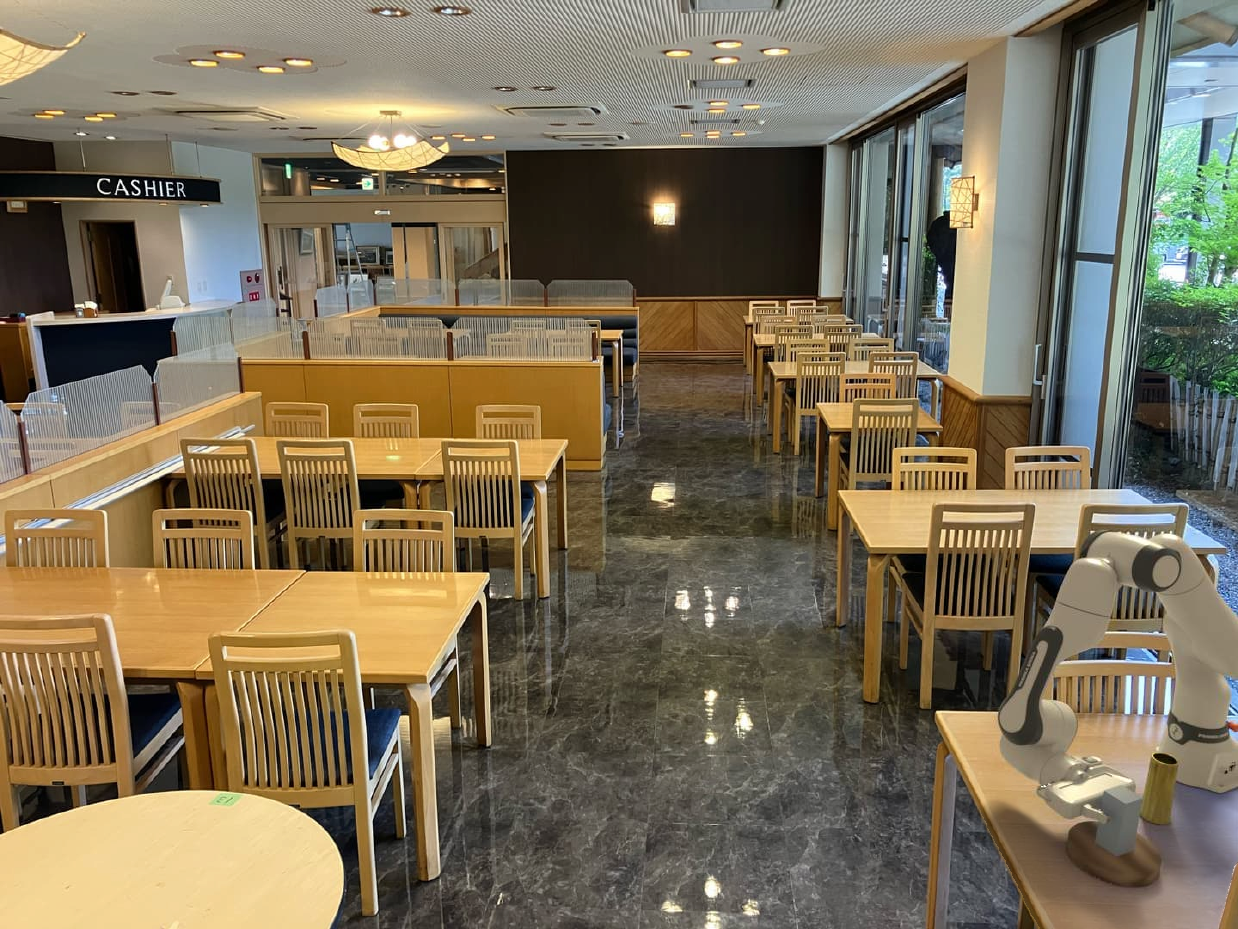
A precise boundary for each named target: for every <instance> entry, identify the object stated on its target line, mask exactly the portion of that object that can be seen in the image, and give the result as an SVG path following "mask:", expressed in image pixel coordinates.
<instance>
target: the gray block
mask: <svg viewBox="0 0 1238 929" xmlns="http://www.w3.org/2000/svg"><path fill="white" fill-rule="evenodd" d="M1142 801H1143V796H1140V795H1138V794H1137V793H1136V792H1135V793H1134V792H1132V791H1131V790H1129V789H1127V788H1126V787H1124V786H1122V785H1119V786H1116V787H1113V788H1110V789H1107V790H1104V792H1103V798H1102V804H1101V809H1099V811H1105V812H1106V813H1108V814H1109V815H1110V822H1108V823H1105V824H1102V823H1101V822H1098V828H1097V834H1096V840H1095V843H1097V844H1098V845H1100V846H1101V847H1103V848H1104V849H1106V850H1107V851H1109V852H1110V853H1111V854H1113V855H1114V856H1116V857H1117V856H1120V855H1123V854H1125V853H1128V852H1131V851H1134V845H1135V840H1136V834H1137V833H1138V828H1139V824H1140V823H1139V822H1140V817H1141V815H1140V812H1141V807H1142Z"/></svg>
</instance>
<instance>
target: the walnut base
mask: <svg viewBox="0 0 1238 929" xmlns="http://www.w3.org/2000/svg"><path fill="white" fill-rule="evenodd" d="M1098 822H1099V821H1098V820H1087V821H1086V820H1085V821H1082V822H1078V823H1076V824H1074V825H1072V827H1071V828H1070V829H1069V830H1068V834H1067V840H1066V845H1065V846H1066V849H1065V850H1066V853H1067V855H1068V857H1069V859H1070V861H1072V862H1073V863H1074V865H1076V867H1077V868H1079V869H1080V870H1082V871H1083V872H1084V871H1085V872H1084V873H1086V872H1087V873H1088V875H1089V874H1090V875H1089V876H1091V877H1093V876H1094V877H1093V878H1095V877H1096V878H1095V879H1097V878H1099V879H1100V881H1102V882H1105V883H1107V884H1110V883H1112V884H1111V885H1114V884H1115V886H1118V885H1119V887H1125V888H1144V887H1148V886H1150V885H1152V884H1154V883H1155V882H1156V881H1157V880H1158V879H1159V877H1160V873H1161V866H1162V861H1163V860H1162V859H1163V858H1162V855H1161V852H1160V851H1159V849H1158V848H1157V846H1155V845H1154V843H1152V841H1150V840H1149V839H1148V838H1146V837H1145V836H1144V835H1141V834H1140V833H1139V832H1137V834H1136V840H1135V845H1134V851H1131V852H1128V853H1125V854H1123V855H1120V856H1117V857H1116V856H1114V855H1113V854H1111V853H1110V852H1109V851H1107V850H1106V849H1104V848H1103V847H1101V846H1100V845H1098V844H1097V843H1095V840H1096V834H1097V828H1098ZM1087 873H1086V874H1087ZM1099 879H1098V880H1099Z"/></svg>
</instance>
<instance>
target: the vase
mask: <svg viewBox="0 0 1238 929" xmlns="http://www.w3.org/2000/svg"><path fill="white" fill-rule="evenodd" d="M1178 765H1179V761H1178V759H1177V758H1175V757H1174V756H1172V755H1170V754H1167V753H1162V752H1155V751H1154V752H1152V753H1151V756H1150V761H1149V766H1148V771H1147V776H1146V782H1145V786H1144V791H1143V795H1142V798H1143V801H1142V804H1143V808H1142V811H1141V812H1140V817H1141V818H1142V819H1144V820H1146V821H1147V822H1150V823H1152V824H1155V825H1162V826H1163V825H1168V824H1170V822H1171V816H1172V809H1173V802H1174V796H1175V795H1174V794H1175V787H1176V782H1177V781H1176V775H1177V770H1178Z"/></svg>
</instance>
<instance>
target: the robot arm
mask: <svg viewBox="0 0 1238 929" xmlns="http://www.w3.org/2000/svg"><path fill="white" fill-rule="evenodd" d="M1061 583H1062V584H1061V585H1060V587H1059V588H1060V589H1059V591H1058V593H1057V597H1056V599H1055V603H1054V606H1053V608H1052V611H1051V613H1050V616H1049V617H1048V620H1047V621H1046V622H1045V624H1044V626H1043V627H1042V628H1041V629H1040V630H1039V632H1038V633H1037V634H1036V635H1035V638H1034V639H1033V641H1032V643H1031V645H1030V647H1029V650H1028V651H1027V654H1026V656H1025V659H1024V661H1023V663H1022V665H1021V668H1020V670H1019V673H1018V675H1017V677H1016V680H1015V682H1014V684H1013V686H1012V688H1011V690H1010V691H1009V693H1008V694H1007V695H1006V697H1005V698H1004V700H1003V701H1002V703H1001V704H1000V705H999V706H1000V707H999V709H998V713H997V723H998V728H999V729H1000V732H1001V734H1002V735H1001V736H1000V739H999V745H998V746H999V751H1000V754H1001V756H1002V757H1003V760H1005V762H1006V763H1008V765H1010V766H1011V767H1012V768H1014V769H1015V771H1018V772H1019V773H1020V774H1021V775H1023V776H1025V778H1028V779H1029V780H1032V781H1035V782H1037V783H1038V784H1039V785H1038V786H1037V788H1036V791H1035V792H1036V795H1037V796H1038V797H1039V798H1041V799H1042V800H1043V801H1044V803H1045V804H1046V805H1047V806H1048V807H1049V808H1051V810H1053V811H1054V812H1055V813H1057V814H1058V815H1059V816H1060V817H1062V818H1064V819H1068V820H1073V819H1076V818H1078V817H1082V816H1083V817H1084V818H1088V819H1091V820H1093V821H1099V822H1101V823H1102V824H1105V823H1108V822H1110V815H1109V814H1108V813H1106V812H1105V811H1100V810H1101V804H1102V798H1103V792H1104V790H1107V789H1110V788H1113V787H1116V786H1119V785H1122V786H1124V787H1126V788H1127V789H1129V790H1131V791H1132V792H1134V793H1136V788H1137V785H1136V782H1135V780H1134V779H1133V778H1131V777H1130V776H1128V775H1127V774H1125V773H1123V772H1121V771H1120V770H1119V769H1116V768H1115V767H1113V766H1110V765H1108V764H1103V760H1102V759H1100V758H1099V757H1096V756H1076V755H1068V754H1067V752H1068V750H1069V748H1070V747H1071V745H1072V743H1073V741H1074V739H1075V737H1076V735H1077V732H1078V728H1079V727H1078V726H1079V725H1078V723H1079V722H1078V718H1077V714H1076V713H1075V711H1074V710H1073V708H1072V707H1071V706H1070V705H1069V704H1067V703H1066V702H1064V701H1060V700H1052V699H1045V697H1044V696H1045V695H1046V692H1047V690H1048V687H1049V685H1050V682H1051V680H1052V678H1053V675H1054V674H1055V671H1056V669H1057V667H1058V666H1059V665H1060V664H1061V663H1062V662H1063V661H1065V660H1066V659H1068V658H1070V657H1072V656H1074V655H1076V654H1079V653H1082V652H1086V651H1088V650H1090V649H1093V648H1095V647H1096V646H1098V645H1099V644H1100V643H1101V641H1102V639H1103V637H1104V636H1105V634H1106V632H1107V630H1108V626H1109V624H1110V620H1111V617H1112V613H1113V610H1114V605H1115V599H1116V594H1117V592H1118V591H1119V590H1120V588H1122V587H1123V586H1128V587H1130V588H1131V587H1132V588H1134V589H1135V588H1136V589H1139V590H1141V591H1143V592H1146V593H1147V592H1148V593H1156V595H1157V596H1158V598H1159V600H1160V602H1161V605H1162V607H1164V610H1165V611H1166V613H1165V615H1164V617H1163V620H1162V630H1163V633H1164V634H1165V636H1166V638H1167V640H1168V642H1169V645H1170V648H1171V652H1172V656H1173V662H1174V669H1175V670H1174V671H1175V688H1174V692H1173V693H1174V695H1173V700H1172V706H1171V708H1169V711H1168V714H1167V720H1166V725H1165V727H1164V729H1163V733H1162V736H1161V739H1160V742H1159V746H1156V747H1155V750H1154V753H1155V752H1162V753H1167V754H1170V755H1172V756H1174V757H1175V758H1177V759H1178V761H1179V765H1178V770H1177V775H1176V781H1175V782H1178V783H1180V784H1184V785H1186V786H1191V787H1196V788H1201V789H1204V790H1208V791H1211V792H1215V793H1218V794H1223V793H1225V792H1229V791H1230V790H1234V789H1236V788H1238V741H1237V740H1236V739H1235V738H1234V737H1233V736H1231V734H1230V730H1231V731H1232V732H1233V733H1238V723H1236V722H1235V721H1233V720H1230V721H1228V715H1229V709H1230V705H1231V700H1232V691H1231V688H1230V685H1229V683H1228V682H1227V680H1226V678H1225V677H1228V678H1230V679H1233V680H1236V681H1238V616H1237V614H1236V613H1235V612H1234V611H1233V609H1232V608H1231V607H1230V606H1229V605H1228V603H1227V602H1226V601H1225V600H1224V598H1222V596H1221V595H1220V594H1219V592H1218V590H1217V589H1216V587H1215V585H1214V583H1213V581H1212V579H1211V578H1210V576H1209V574H1208V572H1207V571H1206V569H1205V566H1203V564H1202V562H1201V559H1200V558H1199V557H1198V556H1197V554H1196V553H1195V552H1194V550H1193V549H1192V548H1191V546H1190V545H1189V544H1188V543H1187V542H1186V541H1185V539H1183V538H1182V537H1180V536H1179V535H1176V534H1175V533H1174V534H1173V533H1159V534H1157V535H1155V536H1152V537H1151V538H1149V539H1148V538H1146V537H1142V536H1139V535H1135V534H1129V533H1124V532H1118V531H1116V530H1111V529H1099V530H1095V531H1093V532H1091V533H1090V534H1089V535H1088V536H1087V537H1086V538H1085V539H1084V541H1083V542H1082V544H1081V547H1080V550H1079V554H1078V559H1077V560H1075V561H1073V562H1072V564H1071V565H1070V567H1069V569H1068V570H1067V572H1066V575H1065V576H1064V578H1063V581H1062V582H1061ZM1142 808H1143V804H1142V807H1141V811H1142Z"/></svg>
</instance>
